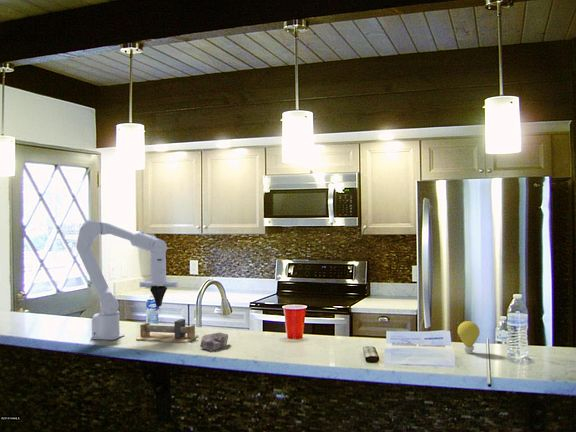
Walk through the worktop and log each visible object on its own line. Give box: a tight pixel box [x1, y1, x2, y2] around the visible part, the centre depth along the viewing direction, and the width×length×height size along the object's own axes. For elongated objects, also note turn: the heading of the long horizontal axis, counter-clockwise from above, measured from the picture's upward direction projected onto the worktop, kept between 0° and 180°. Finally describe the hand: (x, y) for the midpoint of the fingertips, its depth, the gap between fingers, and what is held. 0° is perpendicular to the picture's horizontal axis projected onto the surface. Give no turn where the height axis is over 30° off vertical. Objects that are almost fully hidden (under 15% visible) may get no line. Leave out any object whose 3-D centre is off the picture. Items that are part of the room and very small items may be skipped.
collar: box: [173, 318, 187, 338], centre depth 209 cm, size 2×5×6 cm, turn 165°
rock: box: [199, 332, 229, 352], centre depth 196 cm, size 8×11×5 cm
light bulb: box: [457, 320, 480, 355], centre depth 183 cm, size 7×7×10 cm
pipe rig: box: [135, 322, 199, 344], centre depth 211 cm, size 20×10×5 cm, turn 75°
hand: (158, 306), depth 220 cm, fingers closed
